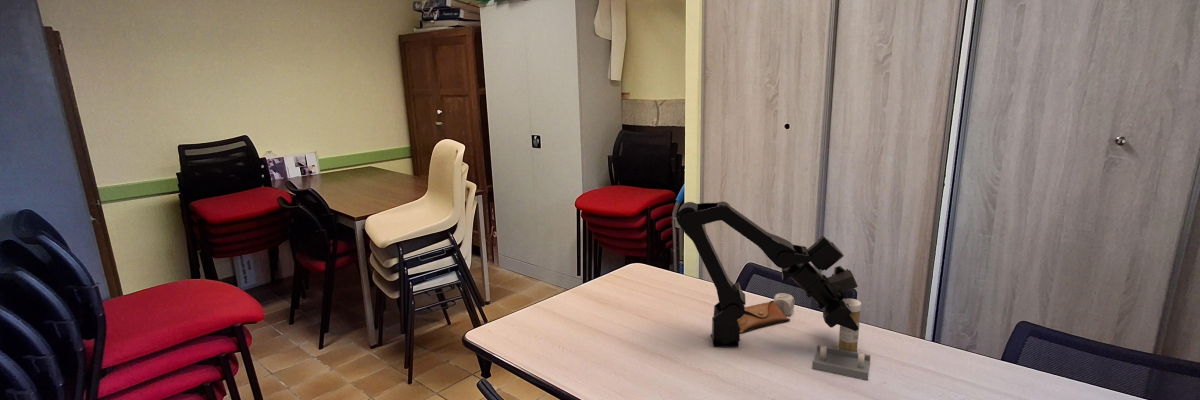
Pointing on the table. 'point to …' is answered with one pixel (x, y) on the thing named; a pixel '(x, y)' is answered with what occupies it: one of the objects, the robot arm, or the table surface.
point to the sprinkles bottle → (846, 335)
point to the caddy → (842, 362)
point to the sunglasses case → (761, 316)
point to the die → (784, 303)
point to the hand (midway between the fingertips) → (855, 325)
